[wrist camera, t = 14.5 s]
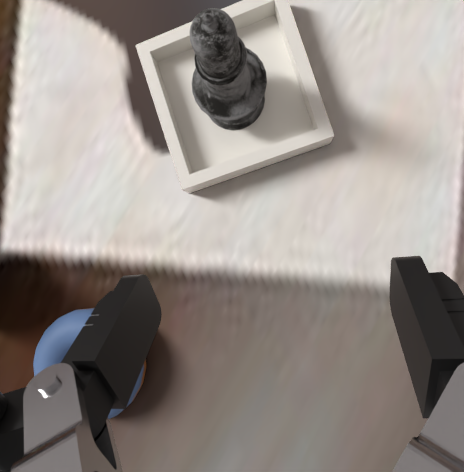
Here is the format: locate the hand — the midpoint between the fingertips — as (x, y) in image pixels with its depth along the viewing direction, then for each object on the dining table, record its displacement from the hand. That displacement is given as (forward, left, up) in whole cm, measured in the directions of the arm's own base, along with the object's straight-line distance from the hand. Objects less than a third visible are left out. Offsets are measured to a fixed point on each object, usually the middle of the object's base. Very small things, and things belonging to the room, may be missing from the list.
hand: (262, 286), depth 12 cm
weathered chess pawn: (-1, -14, -19) cm, 24 cm away
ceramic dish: (-1, -14, -20) cm, 24 cm away
